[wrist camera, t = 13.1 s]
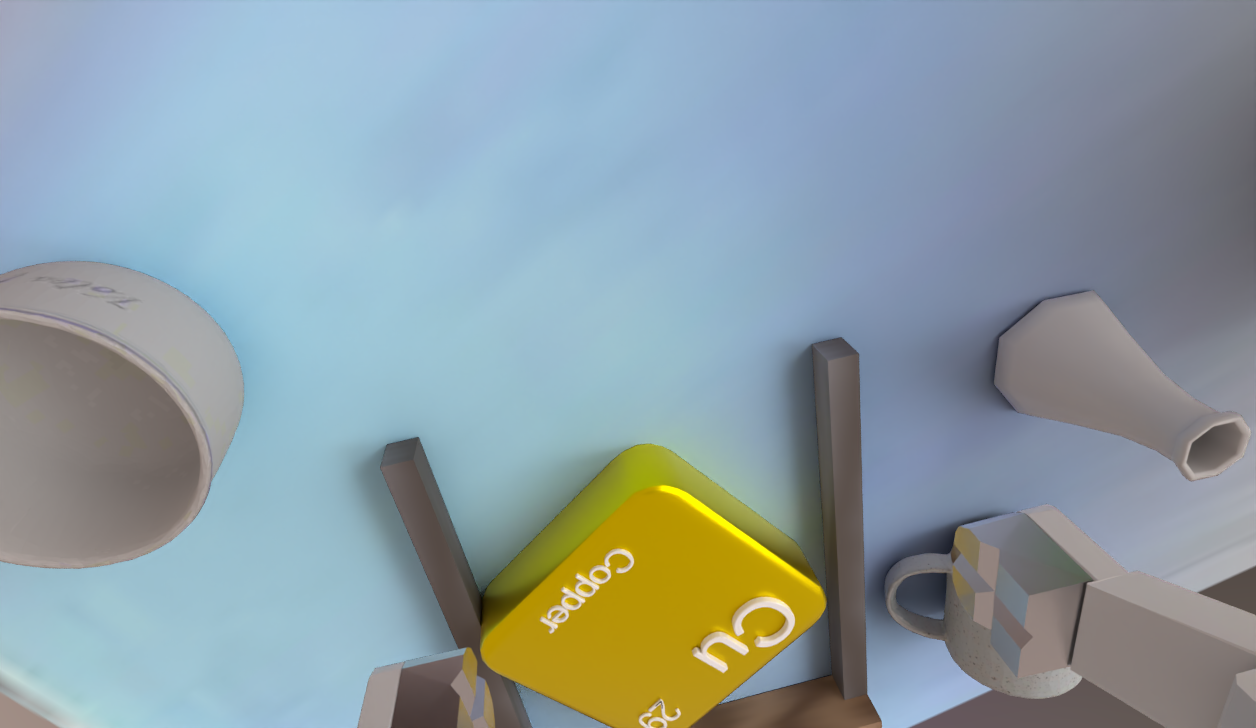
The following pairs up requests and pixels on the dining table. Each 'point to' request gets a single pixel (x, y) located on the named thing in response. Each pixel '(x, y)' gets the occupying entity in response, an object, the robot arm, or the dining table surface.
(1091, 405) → the flask
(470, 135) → the dining table surface
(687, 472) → the element tile
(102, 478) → the teacup
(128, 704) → the dining table surface
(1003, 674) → the ceramic mug
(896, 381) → the dining table surface
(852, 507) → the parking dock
